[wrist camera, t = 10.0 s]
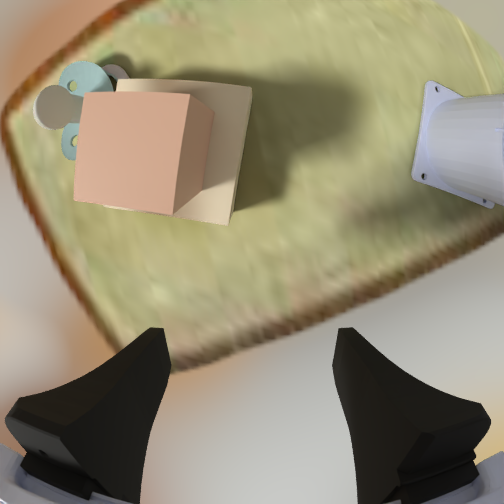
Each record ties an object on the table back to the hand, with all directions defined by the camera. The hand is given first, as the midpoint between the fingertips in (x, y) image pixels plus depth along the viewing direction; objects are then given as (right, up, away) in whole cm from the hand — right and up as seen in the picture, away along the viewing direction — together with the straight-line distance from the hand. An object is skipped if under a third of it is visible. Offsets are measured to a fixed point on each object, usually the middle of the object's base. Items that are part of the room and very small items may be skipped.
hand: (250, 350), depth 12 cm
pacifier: (-11, +15, +6) cm, 19 cm away
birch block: (-5, +11, +7) cm, 14 cm away
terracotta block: (-5, +10, +4) cm, 12 cm away
